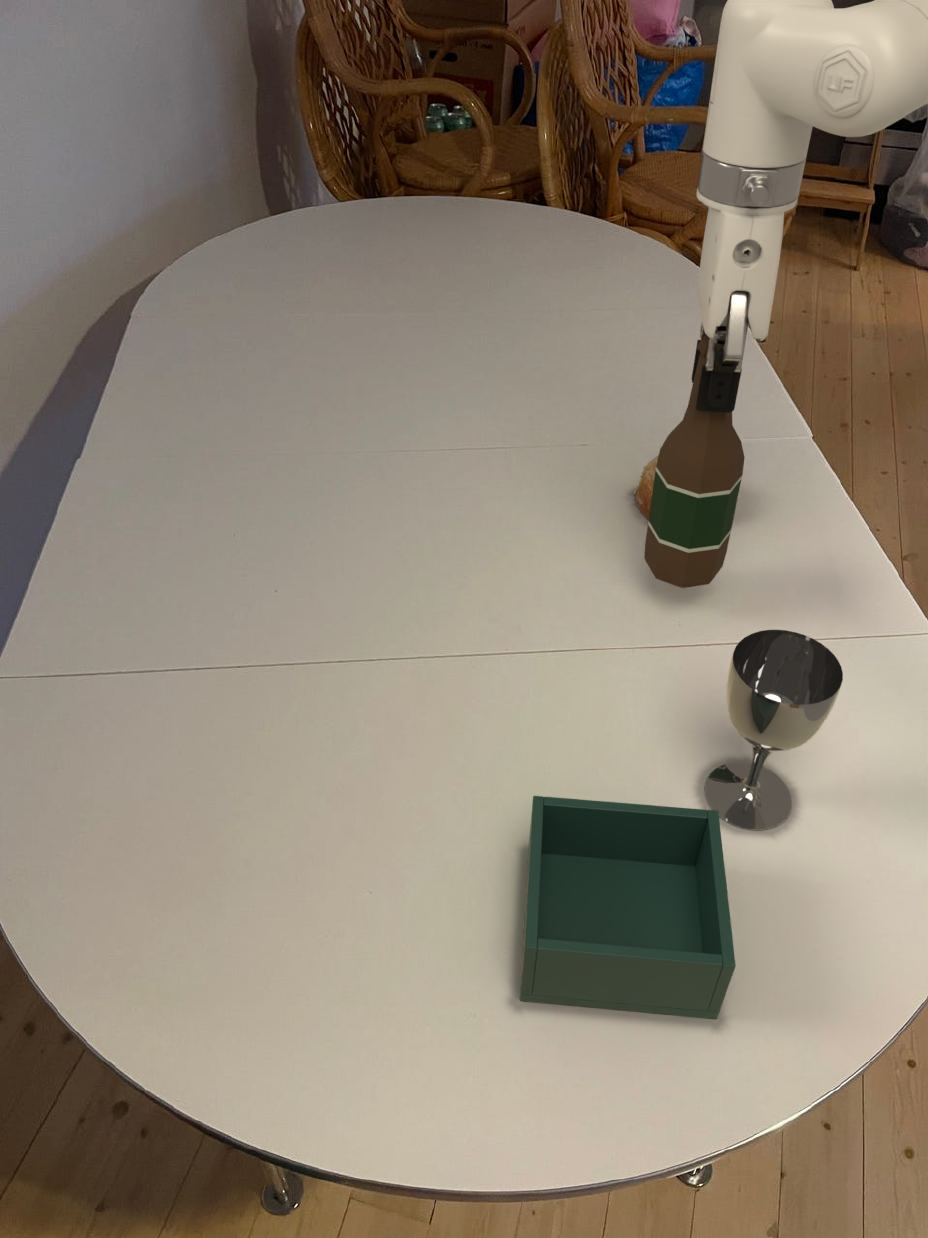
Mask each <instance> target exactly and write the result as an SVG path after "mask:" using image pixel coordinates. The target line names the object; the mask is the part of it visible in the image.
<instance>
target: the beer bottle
mask: <svg viewBox="0 0 928 1238" xmlns="http://www.w3.org/2000/svg"><path fill="white" fill-rule="evenodd" d="M699 340H700V342H699V344H698V346H697V345H696V347H697V348H698V349H699V351H700V355H699V359H698V364H697V368H696V373H695V377H694V381H693V383H692V386H691V390H690V395H689V399H688V402H687V403H688V404H687V407H686V409H685V412H684V414H683V417H682V420H681V421H680V422H679V423H678V424H677V426H675V427H674V428H673V429H672V431H671V432H670V433H669V434H668V435H667V437H666V438H665V439H664V442H663V443H662V446H661V447H660V449H659V452H658V455H659V456H658V455H657V456H658V460H657V465H656V470H655V478H654V485H653V492H652V499H651V506H650V513H649V520H648V519H647V526H646V527H647V528H646V535H645V542H644V556H643V557H644V558H643V559H644V560H645V563H646V564H647V566H648V568H649V570H650V572H651V573H652V575H653V577H654V578H655V579H656V580H658V581H661V582H664V583H667V584H670V585H672V586H675V587H677V588H681V589H686V588H693V587H701V586H707V585H710V584H711V583H712V581H713V580H714V579H715V577H716V575H717V574H718V573H719V572H720V571H721V569H722V568H723V566H724V562H725V560H726V556H727V551H728V546H729V542H730V538H731V532H732V527H733V522H734V519H735V513H736V509H737V503H738V500H739V494H740V490H741V483H742V479H743V474H744V465H745V452H744V449H743V444H742V440H741V439H740V437H739V435H738V433H737V431H736V429H735V427H734V425H733V411H732V412H730V413H727V412H705V411H698V410H697V409H696V398H697V392H698V386H699V380H700V374H701V368H702V365H706V359H707V352H708V344H709V337H708V336H707V335H706V334H705V335H704V336H703V337H702V338H700V339H699ZM724 345H725V342H720V341H717V348H716V352H717V351H718V349H719V348H723V347H724Z"/></svg>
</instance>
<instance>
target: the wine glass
mask: <svg viewBox="0 0 928 1238" xmlns="http://www.w3.org/2000/svg"><path fill="white" fill-rule="evenodd" d="M843 681H844V671H843V667H842V665H841V663H840V661H839V660H838V658H837V657H836V655H835V654H834V653H833V652H832V651H831V650H830V649H829V648H828V647H827V646H825V645H824V644H822V642H819V641H818V640H816V639H814V638H812V637H810V636H807V635H805V634H802V633H799V632H796V631H791V630H785V629H765V630H759V631H756V632H753V633H750V634H748V635H746V636H744V637H743V638H742V639H741V640H740V641H739V642H738V643H737V644H736V646H735V648H734V650H733V653H732V656H731V660H730V663H729V668H728V673H727V680H726V692H725V693H726V695H725V696H726V706H727V713H728V716H729V720H730V723H731V724H732V726H733V727H734V729H735V730H736V732H737V733H738V734H739V735H740V737H742V738H743V739H744V740H745V741H746V742H748V743H749V745H750V746H751V749H752V758H751V759H752V760H751V762H745V761H735V762H729V763H725V764H722V765H719V766H718V767H716V768H715V769H713V770H712V771H711V772H710V773H709V775H708V776H707V777H706V780H705V782H704V787H703V788H704V790H703V791H704V796H705V799H706V802H707V804H708V806H709V808H710V809H711V810H717V811H718V813H719V819H722V820H723V821H724V822H726V823H728V824H730V825H732V826H734V827H737V828H739V829H743V830H749V831H766V830H770V829H774V828H776V827H778V826H780V825H781V824H783V823H784V822H785V821H786V820H787V819H788V817H789V816H790V814H791V812H792V808H793V806H792V805H793V800H792V795H791V793H790V790H789V788H788V785H786V783H785V782H784V781H783V780H782V779H781V778H780V777H779V776H778V775H777V774H776V773H774V772H773V771H771V770H769V769H768V768H766V767H764V765H765V763H766V761H767V759H768V758H769V757H770V755H771V754H773V753H774V752H785V751H789V750H790V751H791V750H792V749H796V748H799V747H802V746H803V745H805V744H806V743H807V742H809V741H810V740H811V739H812V738H813V737H814V736H815V735H816V734H817V733H818V732H819V730H820V729H821V728H822V727H823V725H824V723H825V722H826V720H827V719H828V717H829V716H830V714H831V712H832V711H833V708H834V706H835V704H836V702H837V699H838V696H839V694H840V692H841V691H840V690H841V687H842V684H843Z"/></svg>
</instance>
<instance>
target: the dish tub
mask: <svg viewBox="0 0 928 1238" xmlns="http://www.w3.org/2000/svg"><path fill="white" fill-rule="evenodd" d="M530 817H531V818H530V826H529V827H530V829H529V836H528V837H529V838H528V848H527V849H528V850H527V865H526V866H527V867H526V881H525V882H526V883H525V901H524V918H523V920H524V921H523V934H522V935H523V937H522V953H521V954H522V956H521V969H520V970H521V972H520V973H521V974H520V989H519V990H520V992H519V1001H520V1002H530V1003H541V1004H551V1005H561V1006H571V1007H581V1008H582V1007H583V1008H592V1009H601V1010H602V1009H604V1010H615V1011H626V1012H636V1013H645V1014H657V1015H666V1016H667V1015H668V1016H678V1017H689V1018H700V1019H710V1020H717V1019H718V1017H719V1014H720V1011H721V1008H722V1006H723V1003H724V1000H725V997H726V994H727V992H728V989H729V986H730V983H731V980H732V977H733V975H734V971H735V970H736V957H735V950H734V938H733V931H732V930H733V929H732V920H731V912H730V904H729V893H728V887H727V884H728V883H727V876H726V868H725V859H724V850H723V840H722V832H721V824H720V817H719V813H718V811H717V810H712V809H703V808H700V809H699V808H689V807H677V806H665V805H652V804H643V803H642V804H641V803H640V804H638V803H628V802H616V801H603V800H592V799H579V798H568V797H553V796H543V795H533V796H532V806H531V814H530Z"/></svg>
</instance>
